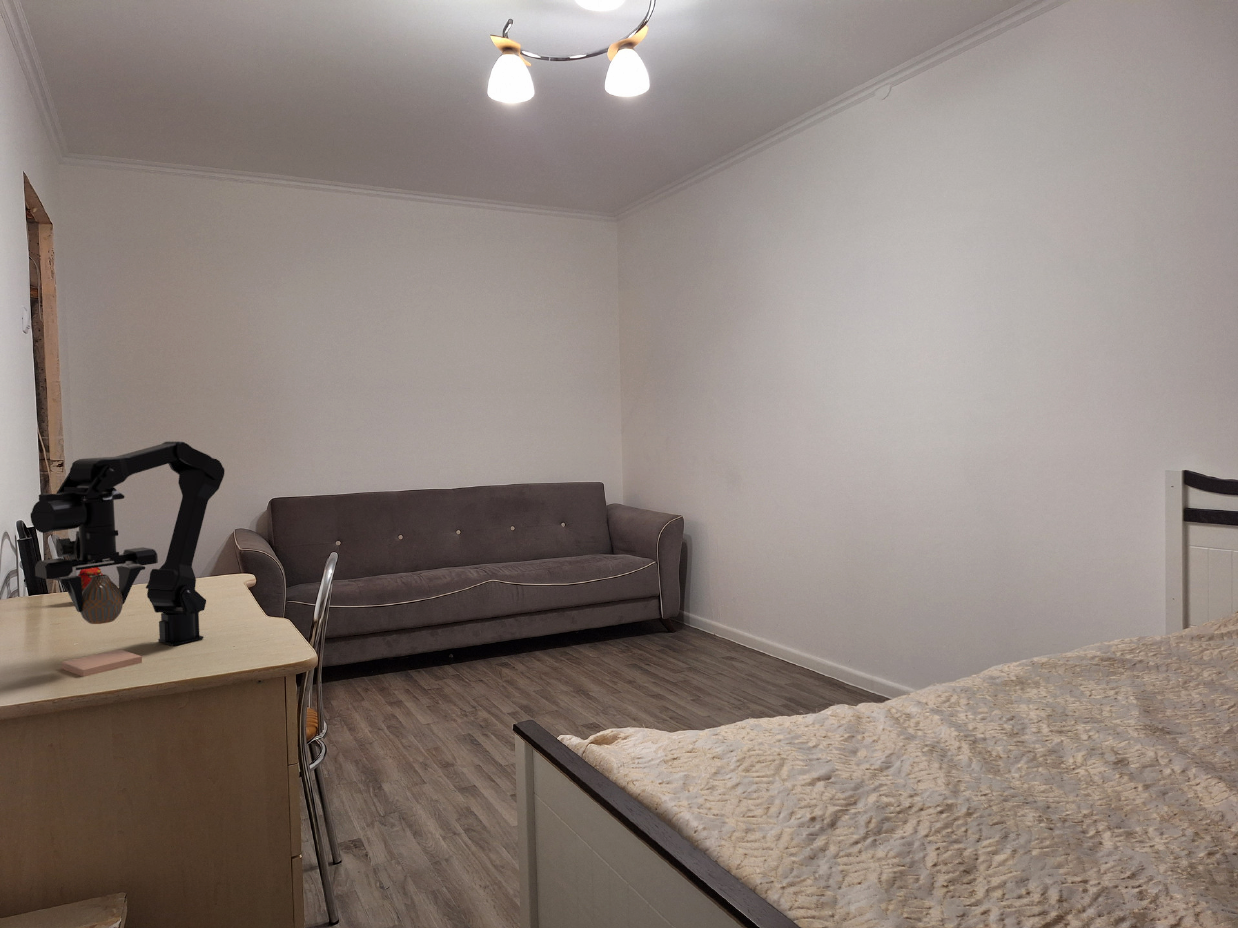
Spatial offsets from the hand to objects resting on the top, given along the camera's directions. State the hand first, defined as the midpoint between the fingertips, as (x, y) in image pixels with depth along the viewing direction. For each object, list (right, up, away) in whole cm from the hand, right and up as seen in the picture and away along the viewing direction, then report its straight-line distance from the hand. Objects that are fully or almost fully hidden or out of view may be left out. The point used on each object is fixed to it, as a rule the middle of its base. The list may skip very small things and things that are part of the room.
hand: (101, 607), depth 150 cm
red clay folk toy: (-39, -9, +56) cm, 69 cm away
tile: (-4, -11, +3) cm, 12 cm away
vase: (0, -3, 0) cm, 3 cm away
